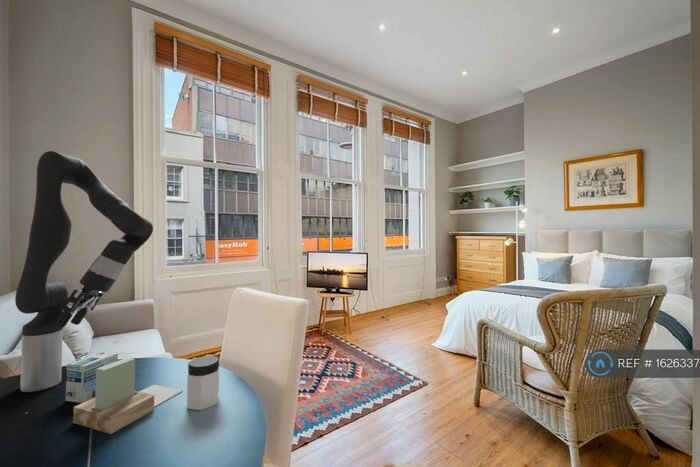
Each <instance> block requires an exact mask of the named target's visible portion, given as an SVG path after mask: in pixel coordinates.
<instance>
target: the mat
mask: <svg viewBox="0 0 700 467" xmlns="http://www.w3.org/2000/svg"><path fill="white" fill-rule="evenodd" d="M183 391H184V390H182V389H179V388H172V387H167V386H164V385H158V384H152V385H150V386H149V387H148V386H147V387H146V388H144V389H142V390H140V391H139V392H142V393H147V394H151V395H154V408H156V407H157V406H159V405H161V404H164V403H165V402H167V401H168V400H170V399H172V398H174V397H176V396H177V395H179V394H181V393H183Z"/></svg>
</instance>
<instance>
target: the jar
mask: <svg viewBox="0 0 700 467" xmlns="http://www.w3.org/2000/svg"><path fill="white" fill-rule="evenodd" d="M187 367H188V368H187V370H188V371H187V373H188V374H187V380H186V382H187V388H186V394H187V396H186V399H187V400H186V409H187V410H195V411H203V410H206V409H208V408H210V407H213V406H215V405H217V404H218V401H219V391H220V388H219V387H220V377H219V376H220V358H219V357H217V356H215V355H206V356H200V357H196V358H193V359H192V360H189V362H188V364H187Z"/></svg>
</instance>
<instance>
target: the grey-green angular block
mask: <svg viewBox="0 0 700 467" xmlns="http://www.w3.org/2000/svg"><path fill="white" fill-rule="evenodd" d="M135 380H136V358H132V357H124V358H121V359H119V360H118V361H116V362H113V363H110V364H108V365H105V366H102V367H99V368H97V369H96V391H95V411H97V412H101V411H104V410H106V409H108V408H110V407H112V406H114V405H116V404H118V403H120V402H122V401H124V400H126V399H128V398H130V397H132V396H134V392H135V391H136V390H135V389H136V388H135V386H136V385H135V384H136V383H135V382H136V381H135Z"/></svg>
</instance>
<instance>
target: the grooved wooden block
mask: <svg viewBox="0 0 700 467" xmlns="http://www.w3.org/2000/svg"><path fill="white" fill-rule="evenodd" d="M153 411H155V407H154V395H151V394H147V393H142V392H140V391H138V390H135V392H134V396H132V397H130V398H128V399H126V400H124V401H122V402H120V403H118V404H116V405H114V406H112V407H110V408H108V409H106V410H104V411H101V412H97V411H95V398H93V399H91V400H89V401H86V402H84V403H79V404H78V405H75V406H73V412H72V413H73V414H72V415H73V416H72V418H73V422H72V423H73V424H76V425H79V426H83V427H86V428H90V429H93V430H95V431H99V432H103V433H105V434H109V435H112V434H114V433H116V432H118V431H119V430H121V429H123V428H124V427H127V426H128V425H130V424H131V423H134V422H135V421H137V420H138V419H140V418H142V417H144V416H145V415H147V414H149V413H151V412H153Z"/></svg>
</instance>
